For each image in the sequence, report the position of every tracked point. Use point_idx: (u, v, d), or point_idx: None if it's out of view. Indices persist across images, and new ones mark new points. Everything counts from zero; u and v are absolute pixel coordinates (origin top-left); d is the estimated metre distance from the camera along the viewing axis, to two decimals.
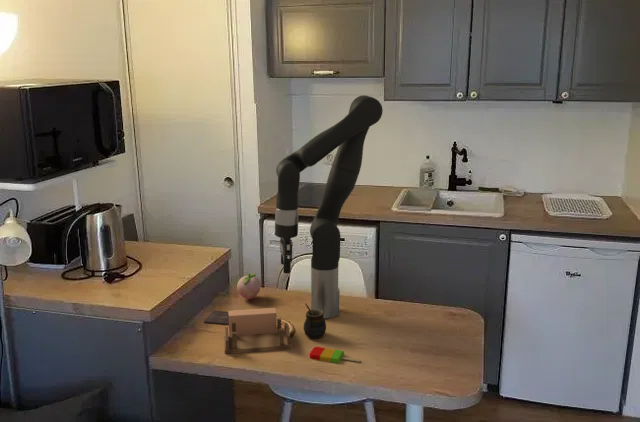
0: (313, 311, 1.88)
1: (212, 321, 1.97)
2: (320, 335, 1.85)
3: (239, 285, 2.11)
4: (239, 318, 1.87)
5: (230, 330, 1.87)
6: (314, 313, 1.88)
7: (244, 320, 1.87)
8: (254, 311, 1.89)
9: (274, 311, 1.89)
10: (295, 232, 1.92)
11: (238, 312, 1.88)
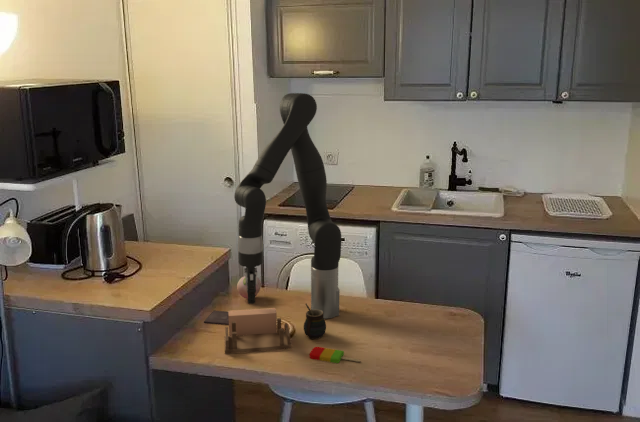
0: (313, 311, 1.88)
1: (212, 321, 1.97)
2: (320, 335, 1.85)
3: (239, 285, 2.11)
4: (239, 318, 1.87)
5: (230, 330, 1.87)
6: (314, 313, 1.88)
7: (244, 320, 1.87)
8: (254, 311, 1.89)
9: (274, 311, 1.89)
10: (259, 261, 1.82)
11: (238, 312, 1.88)
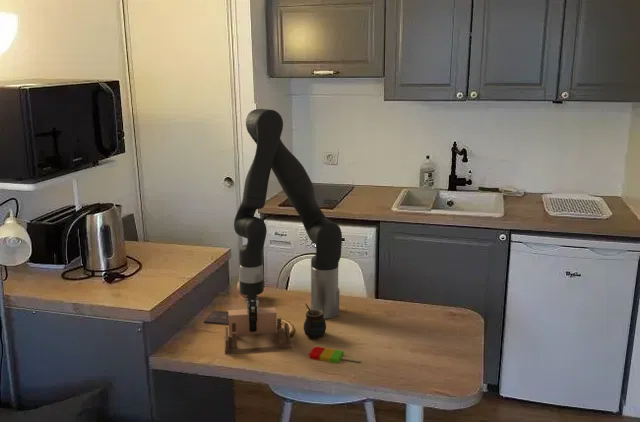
0: (313, 311, 1.88)
1: (212, 321, 1.97)
2: (320, 335, 1.85)
3: (239, 285, 2.11)
4: (239, 318, 1.87)
5: (230, 330, 1.87)
6: (314, 313, 1.88)
7: (244, 319, 1.87)
8: None
9: (274, 311, 1.89)
10: (260, 289, 1.85)
11: (238, 312, 1.88)
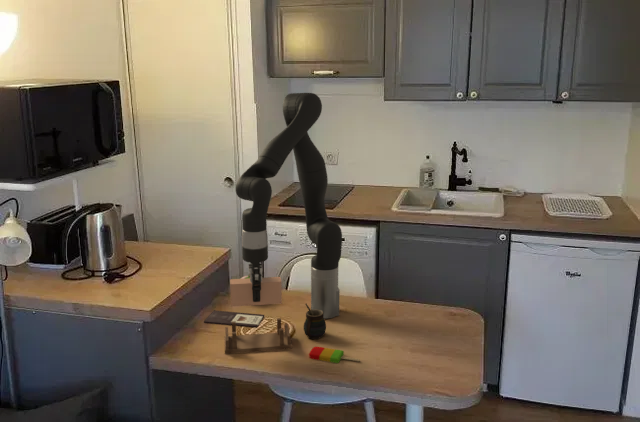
0: (313, 311, 1.88)
1: (212, 321, 1.97)
2: (320, 335, 1.85)
3: None
4: (241, 287, 1.75)
5: (232, 299, 1.75)
6: (314, 313, 1.88)
7: (247, 289, 1.75)
8: None
9: (279, 280, 1.77)
10: (264, 256, 1.73)
11: (240, 281, 1.76)
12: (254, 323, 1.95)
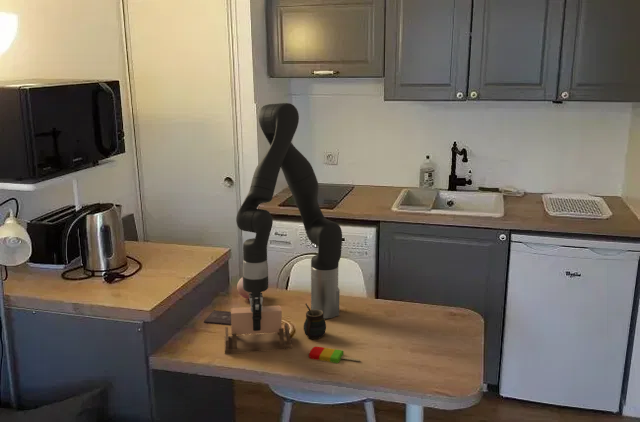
0: (313, 311, 1.88)
1: (212, 321, 1.97)
2: (320, 335, 1.85)
3: (239, 285, 2.11)
4: (242, 316, 1.77)
5: (232, 328, 1.78)
6: (314, 313, 1.88)
7: (247, 318, 1.77)
8: None
9: (279, 309, 1.80)
10: (265, 286, 1.75)
11: (241, 310, 1.79)
12: None
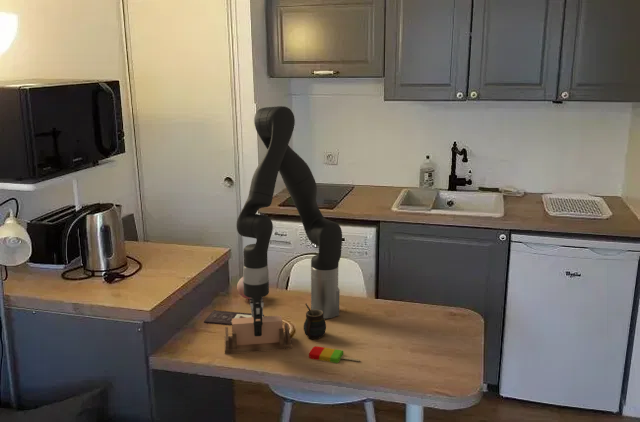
0: (313, 311, 1.88)
1: (212, 321, 1.97)
2: (320, 335, 1.85)
3: (239, 285, 2.11)
4: (243, 327, 1.78)
5: None
6: (314, 313, 1.88)
7: (248, 328, 1.78)
8: (258, 319, 1.80)
9: (280, 319, 1.80)
10: (265, 291, 1.75)
11: (242, 320, 1.80)
12: None
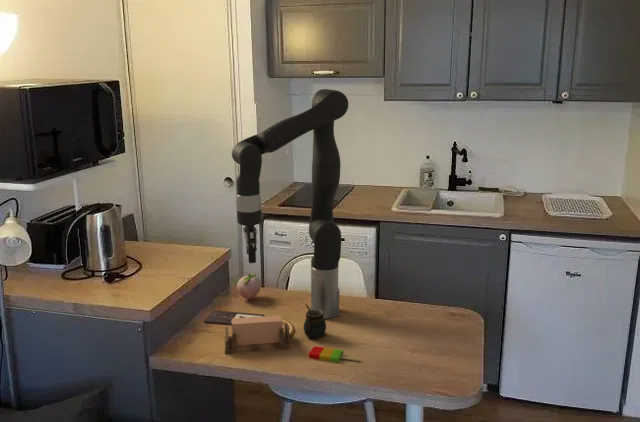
0: (313, 311, 1.88)
1: (212, 321, 1.97)
2: (320, 335, 1.85)
3: (239, 285, 2.11)
4: (243, 327, 1.78)
5: None
6: (314, 313, 1.88)
7: (248, 328, 1.78)
8: (258, 319, 1.80)
9: (280, 319, 1.80)
10: (258, 219, 1.80)
11: (242, 320, 1.80)
12: None
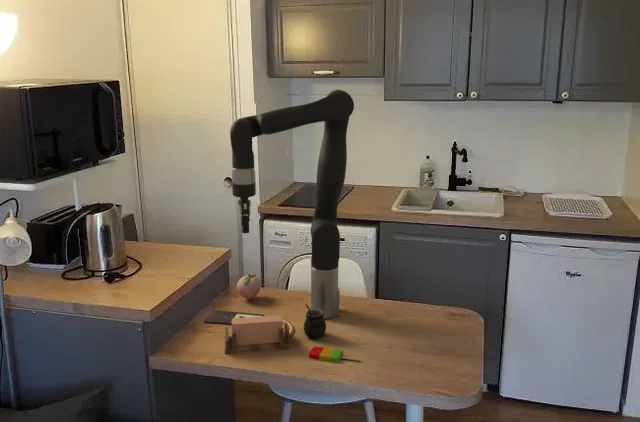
0: (313, 311, 1.88)
1: (212, 321, 1.97)
2: (320, 335, 1.85)
3: (239, 285, 2.11)
4: (243, 327, 1.78)
5: None
6: (314, 313, 1.88)
7: (248, 328, 1.78)
8: (258, 319, 1.80)
9: (280, 319, 1.80)
10: (252, 192, 1.91)
11: (242, 320, 1.80)
12: None
